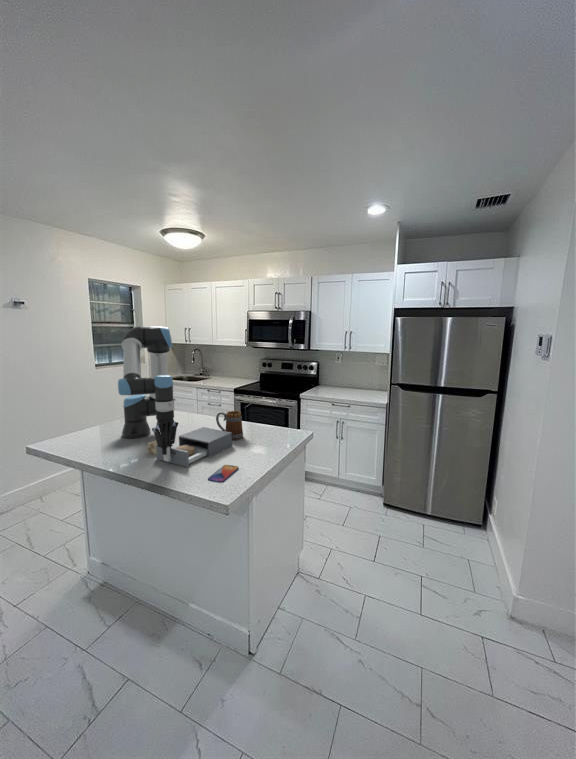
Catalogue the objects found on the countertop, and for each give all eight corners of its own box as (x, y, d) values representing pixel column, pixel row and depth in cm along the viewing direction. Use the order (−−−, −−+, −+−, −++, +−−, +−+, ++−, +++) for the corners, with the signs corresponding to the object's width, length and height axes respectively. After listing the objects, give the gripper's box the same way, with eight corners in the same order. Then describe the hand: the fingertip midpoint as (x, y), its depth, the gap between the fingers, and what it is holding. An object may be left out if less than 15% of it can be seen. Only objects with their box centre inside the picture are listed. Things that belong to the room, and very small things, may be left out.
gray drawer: (186, 467, 142) (185, 452, 141) (155, 459, 151) (155, 445, 150) (212, 454, 157) (212, 441, 156) (183, 447, 166) (183, 435, 165)
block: (148, 452, 160) (147, 443, 159) (156, 449, 164) (155, 440, 163) (155, 454, 157) (154, 445, 157) (163, 451, 162) (162, 442, 161)
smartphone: (206, 481, 131) (206, 479, 131) (225, 466, 145) (224, 464, 145) (222, 484, 129) (222, 481, 129) (239, 469, 143) (239, 466, 143)
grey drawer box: (209, 457, 155) (208, 442, 154) (179, 449, 164) (178, 435, 163) (232, 446, 171) (231, 432, 170) (203, 439, 180) (203, 427, 179)
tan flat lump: (170, 455, 152) (170, 449, 152) (184, 449, 160) (184, 444, 160) (184, 459, 148) (184, 453, 148) (198, 453, 156) (198, 447, 156)
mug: (245, 435, 189) (244, 410, 187) (240, 440, 179) (240, 415, 177) (219, 434, 191) (219, 409, 189) (213, 439, 181) (213, 414, 178)
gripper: (158, 414, 134) (161, 467, 137) (182, 408, 145) (183, 457, 149) (146, 412, 137) (149, 463, 141) (170, 406, 149) (172, 454, 152)
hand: (167, 460), depth 145 cm, fingers closed
